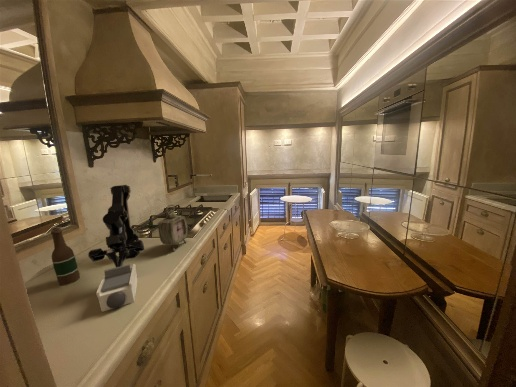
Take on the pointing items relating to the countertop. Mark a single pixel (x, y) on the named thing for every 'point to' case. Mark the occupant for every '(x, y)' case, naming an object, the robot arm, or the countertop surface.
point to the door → (117, 277)
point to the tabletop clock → (173, 229)
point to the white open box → (118, 293)
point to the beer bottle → (63, 260)
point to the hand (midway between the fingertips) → (118, 270)
